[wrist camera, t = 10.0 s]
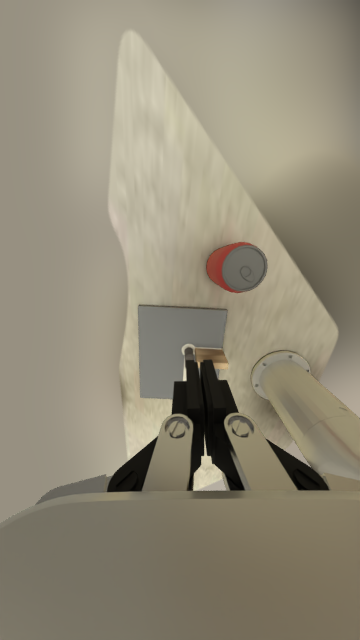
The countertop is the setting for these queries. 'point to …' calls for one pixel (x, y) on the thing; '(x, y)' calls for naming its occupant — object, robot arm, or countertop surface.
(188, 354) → the fence gate
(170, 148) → the countertop surface
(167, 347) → the card
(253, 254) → the beer can
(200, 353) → the bar
